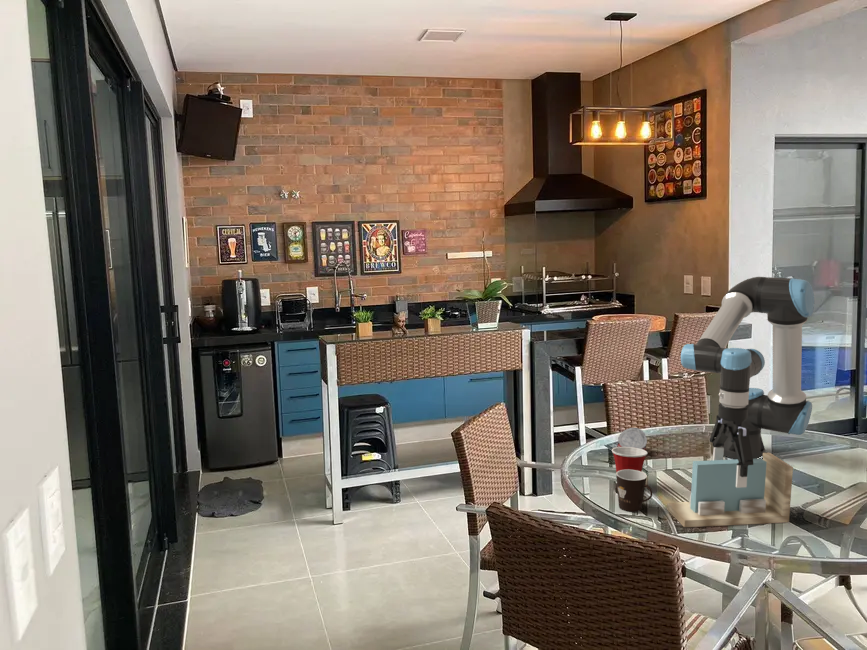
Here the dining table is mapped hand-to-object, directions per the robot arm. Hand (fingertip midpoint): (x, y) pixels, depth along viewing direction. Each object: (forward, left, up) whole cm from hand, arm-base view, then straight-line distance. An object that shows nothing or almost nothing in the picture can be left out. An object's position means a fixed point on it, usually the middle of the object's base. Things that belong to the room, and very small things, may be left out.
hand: (728, 477), depth 208 cm
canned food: (+8, -54, -12) cm, 56 cm away
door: (0, 0, -9) cm, 9 cm away
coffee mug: (+25, -7, -11) cm, 28 cm away
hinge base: (0, 0, -11) cm, 11 cm away
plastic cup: (+20, -24, -12) cm, 33 cm away
